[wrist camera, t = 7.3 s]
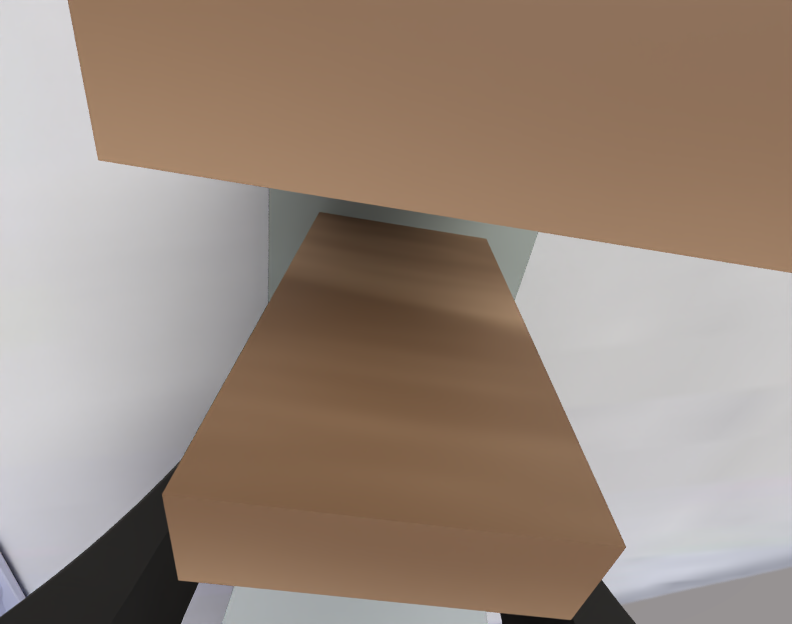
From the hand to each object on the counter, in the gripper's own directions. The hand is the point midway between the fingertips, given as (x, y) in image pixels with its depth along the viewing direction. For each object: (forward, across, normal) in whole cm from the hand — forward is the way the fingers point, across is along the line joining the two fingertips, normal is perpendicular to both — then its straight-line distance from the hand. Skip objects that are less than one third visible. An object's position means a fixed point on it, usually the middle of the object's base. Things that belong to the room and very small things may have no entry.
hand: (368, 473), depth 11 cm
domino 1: (+4, 0, -10) cm, 10 cm away
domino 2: (+4, 0, -5) cm, 6 cm away
